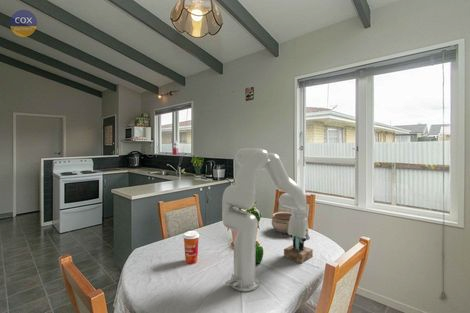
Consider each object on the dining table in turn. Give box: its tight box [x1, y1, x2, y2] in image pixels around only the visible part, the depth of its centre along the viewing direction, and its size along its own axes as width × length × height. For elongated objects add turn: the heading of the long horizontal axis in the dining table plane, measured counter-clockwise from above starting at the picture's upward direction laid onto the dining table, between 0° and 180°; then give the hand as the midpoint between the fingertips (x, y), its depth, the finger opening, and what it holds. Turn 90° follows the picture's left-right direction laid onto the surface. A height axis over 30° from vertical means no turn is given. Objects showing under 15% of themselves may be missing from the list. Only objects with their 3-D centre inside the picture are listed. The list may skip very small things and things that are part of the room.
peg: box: [295, 236, 301, 252], centre depth 131 cm, size 3×3×10 cm
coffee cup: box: [182, 230, 200, 265], centre depth 125 cm, size 8×8×15 cm
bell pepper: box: [255, 242, 264, 265], centre depth 125 cm, size 8×8×10 cm
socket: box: [283, 244, 314, 264], centre depth 131 cm, size 11×11×4 cm
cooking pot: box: [271, 211, 292, 235], centre depth 167 cm, size 25×19×12 cm
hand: (298, 247), depth 131 cm, fingers closed on peg, 3 cm apart
